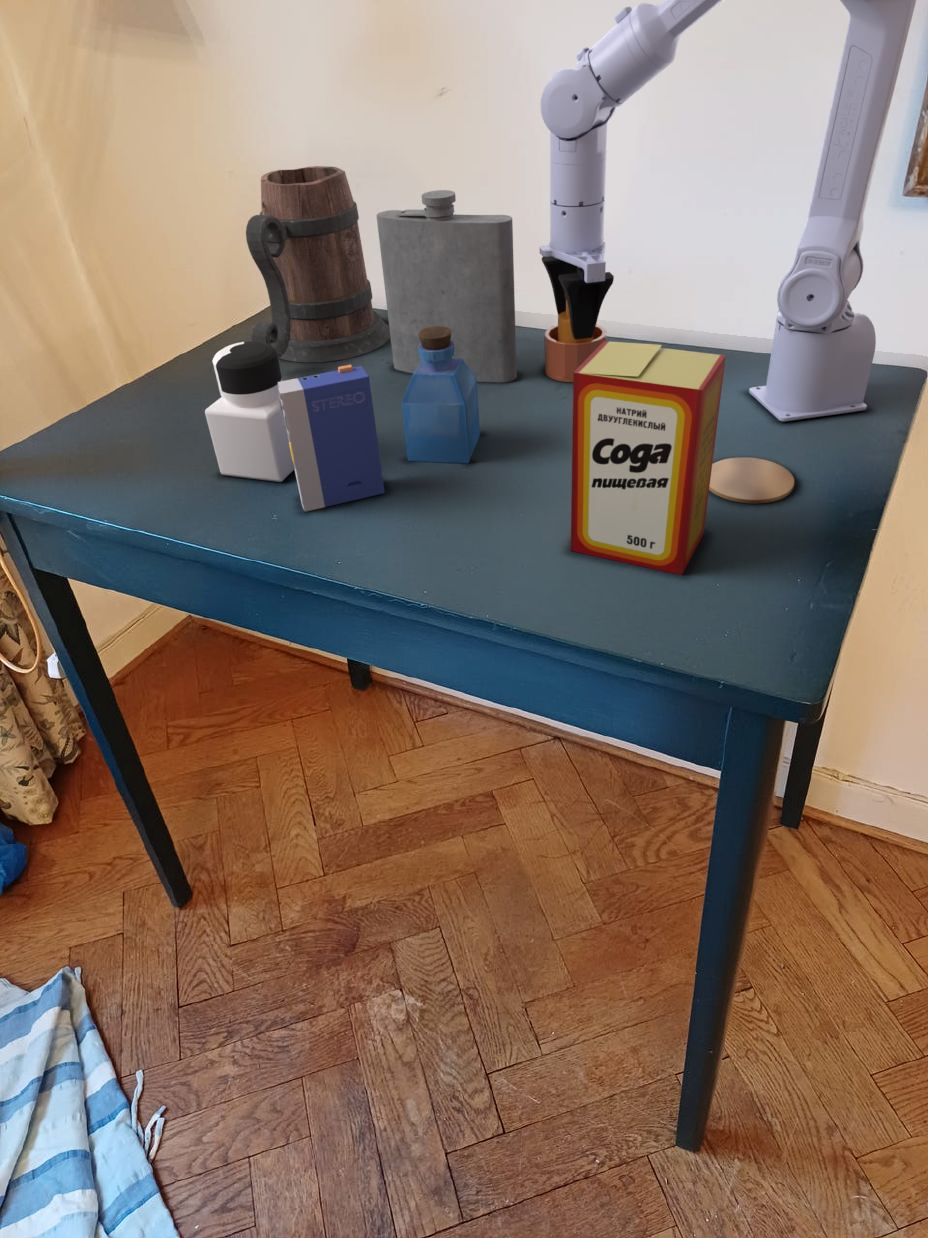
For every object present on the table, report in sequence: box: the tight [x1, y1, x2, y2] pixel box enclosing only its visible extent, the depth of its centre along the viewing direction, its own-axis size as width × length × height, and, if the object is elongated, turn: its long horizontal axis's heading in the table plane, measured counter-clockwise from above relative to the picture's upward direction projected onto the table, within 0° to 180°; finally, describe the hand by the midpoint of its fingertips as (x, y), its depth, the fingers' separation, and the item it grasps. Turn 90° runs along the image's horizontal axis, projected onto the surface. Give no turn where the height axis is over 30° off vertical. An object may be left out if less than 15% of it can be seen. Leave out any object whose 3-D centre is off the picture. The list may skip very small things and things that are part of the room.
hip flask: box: [376, 189, 518, 384], centre depth 100 cm, size 16×4×20 cm, turn 66°
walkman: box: [278, 364, 386, 512], centre depth 80 cm, size 8×3×12 cm, turn 110°
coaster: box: [709, 456, 795, 505], centre depth 81 cm, size 8×8×1 cm
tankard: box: [245, 165, 391, 363], centre depth 109 cm, size 24×17×20 cm
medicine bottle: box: [204, 341, 295, 483], centre depth 87 cm, size 7×7×12 cm
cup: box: [543, 324, 608, 383], centre depth 103 cm, size 7×7×4 cm
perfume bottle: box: [401, 326, 481, 464], centre depth 87 cm, size 6×6×12 cm
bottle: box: [557, 295, 593, 343], centre depth 101 cm, size 4×4×9 cm
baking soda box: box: [570, 340, 727, 576], centre depth 70 cm, size 10×6×16 cm
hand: (575, 328), depth 101 cm, fingers open, 5 cm apart
